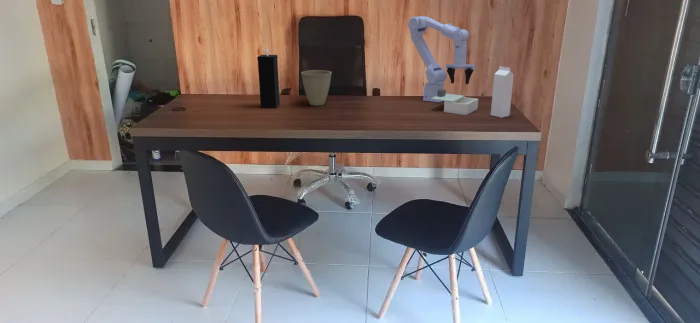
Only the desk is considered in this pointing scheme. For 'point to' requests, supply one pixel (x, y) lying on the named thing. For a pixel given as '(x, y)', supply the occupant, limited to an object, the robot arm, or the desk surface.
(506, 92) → the milk
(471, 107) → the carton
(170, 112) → the desk surface
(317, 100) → the plant pot
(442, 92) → the lid
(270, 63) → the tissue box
